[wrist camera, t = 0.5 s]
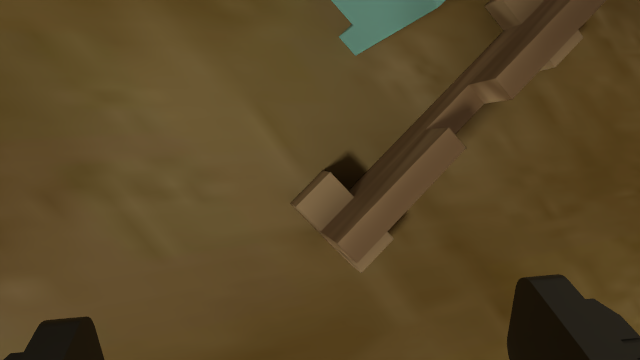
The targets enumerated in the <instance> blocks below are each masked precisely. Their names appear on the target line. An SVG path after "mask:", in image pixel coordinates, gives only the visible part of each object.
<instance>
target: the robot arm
mask: <svg viewBox="0 0 640 360" xmlns="http://www.w3.org/2000/svg"><path fill="white" fill-rule="evenodd" d="M507 349H508V355H509V359H510V360H640V336H639V335H638V334H637V333H636V332H635V331H634V329H633V328H632V327H631V326H630V325H629V324H628V323H627V322H626V321H625V320H624V319H623V318H622V317H621V316H620V315H619V314H617V313H615V312H614V311H612V310H611V309H609V308H608V307H606V306H604V305H603V304H601V303H600V302H598V301H596V300H595V299H584V297H583V296H582V295H581V294H580V293H579V292H578V291H577V289H576V288H575V287H574V286H573V285H572V284H571V283H570V281H569V280H568V279H567V278H566V277H564V276H563V275H559V274H557V275H546V276H536V277H525V278H521V279H519V281H518V282H517V285H516V289H515V295H514V301H513V307H512V313H511V319H510V325H509V331H508V337H507ZM4 360H104V357H103V354H102V350H101V347H100V343H99V340H98V336H97V333H96V330H95V326H94V323H93V321H92V320H91V318H89V317H77V318H66V319H55V320H46V321H43V322H41V324H40V325H39V326H38V328H37V329H36V331H35V333H34V335H33V336H32V338H31V340H30V342H29V344H28V345H27V347H26V349H25V351H24V352H20V353H10V354H9V355H8V356H7V357H6V358H5V359H4Z"/></svg>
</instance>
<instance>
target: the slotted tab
mask: <svg viewBox="0 0 640 360" xmlns="http://www.w3.org/2000/svg"><path fill="white" fill-rule="evenodd" d="M444 1H445V0H332V2H333V3H334V4H335V5H336V6H337V7H338V9H339V10H340V11H341V12H342V13H343V14H344V15H345V17H346V18H347V19H348V20H349V21H350V22H351V23H352V25H351V26H350V27H349V28H348V29H347V30H346V31H345V32H344V33H342V34H341V35H340V36H339V38H340V39H341V40H342V41H343V42H344V43H345V44H346V45H347V47H348V48H349V49H350V50H351V51H352V52H353V53H354V55H355V56H356V55H357V54H359V53H361V52H363V51H364V50H366V49H368V48H369V47H371V46H373V45H374V44H376V43H378V42H380V41H381V40H383V39H385V38H386V37H388V36H390V35H392V34H393V33H395V32H397V31H398V30H400V29H402V28H404V27H405V26H407V25H409V24H410V23H412V22H414V21H416V20H417V19H419V18H421V17H422V16H424V15H426V14H428V13H429V12H431V11H433V10H434V9H436V8H438V7H439V6H440V5H441V4H442V3H443V2H444Z"/></svg>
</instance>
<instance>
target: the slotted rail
mask: <svg viewBox="0 0 640 360" xmlns="http://www.w3.org/2000/svg"><path fill="white" fill-rule="evenodd" d="M605 1H606V0H490V1H489V2H488V3H487V4H486V5H485V8H486V9H487V10H488V11H489V13H490V14H491V15H492V16H493V18H494V19H495V20H496V21H497V23H498V24H499V25H500V26H501V28H502V29H503V30H504V31H503V32H502V33H501V34H500V35H499V36H498V37H497V38H496V39H495V40H494V42H493V43H492V44H491V45H490V46H489V47H488V48H487V49H486V50H485V51H484V52H483V53H482V54H481V55H480V56H479V57H478V58H477V59H476V60H475V61H474V62H473V63H472V64H471V65H470V66H469V67H468V68H467V69H466V70H465V71H464V72H463V73H462V74H461V75H460V77H459V78H458V79H457V80H456V81H455V82H454V83H453V84H452V85H451V86H450V87H449V88H448V89H447V90H446V91H445V92H444V93H443V94H442V95H441V96H440V97H439V98H438V99H437V100H436V101H435V102H434V103H433V104H432V105H431V106H430V107H429V108H428V109H427V110H426V111H425V113H424V114H423V115H422V116H421V117H420V118H419V119H418V120H417V121H416V122H415V123H414V124H413V125H412V126H411V127H410V128H409V129H408V130H407V131H406V132H405V133H404V134H403V135H402V136H401V137H400V138H399V139H398V140H397V141H396V142H395V143H394V144H393V145H392V146H391V148H390V149H389V150H388V151H387V152H386V153H385V154H384V155H383V156H382V157H381V158H380V159H379V160H378V161H377V162H376V163H375V164H374V165H373V166H372V167H371V168H370V169H369V170H368V171H367V172H366V173H365V174H364V175H363V176H362V177H361V178H360V179H359V180H358V181H357V183H356V184H355V185H354V186H353V187H352V188H351V189H350V190H349V191H348V190H347V189H346V188H345V187H344V186H343V185H342V184H341V183H340V182H339V181H338V180H337V179H336V178H335V177H334V176H333V175H332V173H331V172H327V171H322V172H321V173H320V174H319V175H318V176H317V177H316V178H315V179H314V180H313V181H312V182H311V183H310V184H309V185H308V186H307V187H306V188H305V189H304V190H303V191H302V192H301V193H300V194H299V195H298V196H297V197H296V198H295V199H294V200H293V201H292V202H291V203H290V204H291V205H292V206H293V207H294V208H295V209H296V210H297V211H298V212H299V213H300V214H301V215H302V216H303V217H304V218H305V219H306V220H307V221H308V222H309V223H310V224H311V225H312V226H313V227H314V228H315V229H316V230H317V231H318V232H319V233H320V234H321V235H322V236H323V237H324V238H325V239H326V240H327V241H328V242H329V243H330V244H331V245H332V246H333V247H334V248H335V249H336V250H337V251H338V252H339V253H340V254H341V255H342V256H343V257H344V258H345V259H346V260H347V261H348V262H349V263H350V264H351V265H352V266H353V267H354V268H356V269H357V270H358V271H360V272H361V273H362V272H363V271H364V270H365V269H366V268H367V267H368V266H369V264H370V263H371V262H372V261H373V260H374V259H375V258H376V257H377V256H378V255H379V254H380V253H381V252H382V251H383V250H384V249H385V247H386V246H387V245H388V244H389V243H390V242H391V241H392V240H393V239H394V238H393V237H392V236H391V235H390V234H389V233H388V232H387V231H388V230H389V229H390V228H391V227H392V226H393V225H394V224H395V223H396V222H397V221H398V220H399V219H400V218H401V217H402V215H403V214H404V213H405V212H406V211H407V210H408V209H409V208H410V207H411V206H412V205H413V204H414V203H415V202H416V201H417V200H418V199H419V198H420V196H421V195H422V194H423V193H424V192H425V191H426V190H427V189H428V188H429V187H430V186H431V185H432V184H433V183H434V182H435V181H436V180H437V178H438V177H439V176H440V175H441V174H442V173H443V172H444V171H445V170H446V169H447V168H448V167H449V166H450V165H451V164H452V163H453V162H454V161H455V159H456V158H457V157H458V156H459V155H460V154H461V153H462V152H463V151H464V150H465V149H466V147H465V146H464V145H463V143H462V142H461V141H460V140H459V139H458V138H457V136H456V135H455V134H456V133H457V132H458V131H459V130H460V129H461V128H462V127H463V126H464V124H465V123H466V122H467V121H468V120H469V119H470V118H471V117H472V116H473V115H474V114H475V113H476V112H477V111H478V110H479V109H480V108H481V107H482V106H483V105H484V104H485V103H491V102H498V101H505V100H511V99H513V98H514V97H515V96H516V95H517V94H518V93H519V92H520V91H521V90H522V89H523V88H524V87H525V86H526V84H527V83H528V82H529V81H530V80H531V79H532V78H533V77H534V76H535V75H536V74H537V73H538V72H539V71H541V70H546V69H550V68H554V67H556V66H557V65H558V64H559V63H560V62H561V61H562V60H563V59H564V57H565V56H566V55H567V54H568V53H569V52H570V51H571V50H572V49H573V48H574V47H575V46H576V45H577V44H578V43H579V42H580V41H581V39H582V38H583V36H582V35H581V33H580V32H579V31H578V30H579V28H580V27H581V26H582V25H583V24H584V23H585V22H586V21H587V20H588V19H589V18H590V17H591V16H592V15H593V14H594V13H595V12H596V10H597V9H598V8H599V7H600V6H601V5H602V4H603V3H604V2H605Z"/></svg>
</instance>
